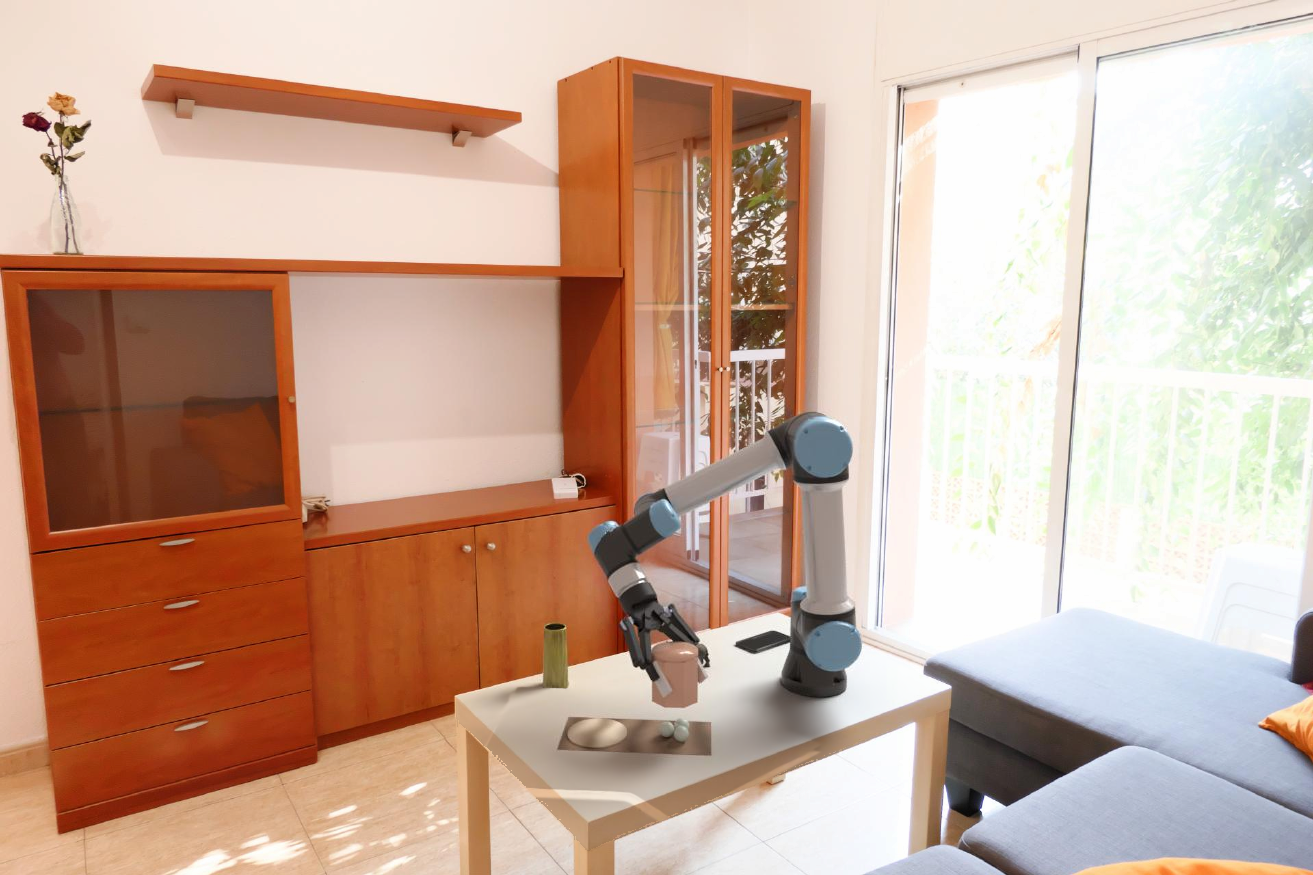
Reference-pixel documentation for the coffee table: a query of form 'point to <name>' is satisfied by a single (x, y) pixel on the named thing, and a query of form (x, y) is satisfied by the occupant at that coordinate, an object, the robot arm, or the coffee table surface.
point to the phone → (763, 641)
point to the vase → (555, 656)
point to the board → (649, 738)
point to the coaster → (597, 733)
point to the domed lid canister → (677, 673)
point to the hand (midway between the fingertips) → (686, 686)
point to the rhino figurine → (703, 654)
